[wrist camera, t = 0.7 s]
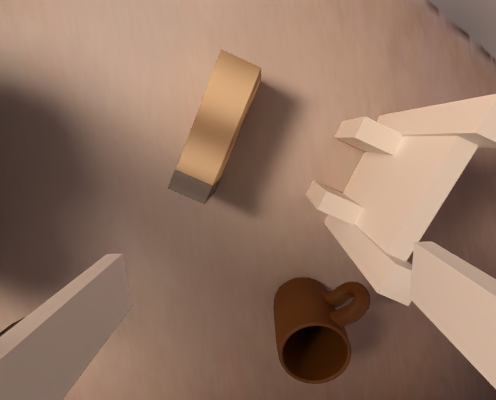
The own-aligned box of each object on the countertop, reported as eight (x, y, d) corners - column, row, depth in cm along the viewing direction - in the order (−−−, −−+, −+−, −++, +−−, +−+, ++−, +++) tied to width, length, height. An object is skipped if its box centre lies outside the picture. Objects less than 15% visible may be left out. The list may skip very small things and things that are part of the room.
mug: (324, 240, 35) (347, 277, 26) (366, 277, 36) (402, 325, 27) (261, 302, 37) (262, 356, 28) (301, 335, 38) (315, 398, 29)
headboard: (297, 211, 34) (329, 272, 19) (351, 102, 31) (445, 66, 15) (340, 229, 34) (408, 306, 19) (398, 124, 31) (536, 110, 16)
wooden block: (228, 66, 31) (220, 47, 25) (260, 81, 31) (261, 66, 25) (184, 179, 34) (167, 188, 28) (214, 191, 34) (204, 204, 28)
